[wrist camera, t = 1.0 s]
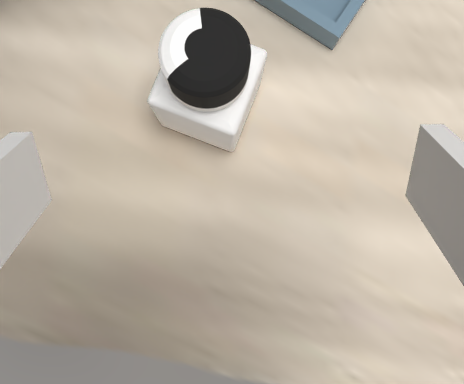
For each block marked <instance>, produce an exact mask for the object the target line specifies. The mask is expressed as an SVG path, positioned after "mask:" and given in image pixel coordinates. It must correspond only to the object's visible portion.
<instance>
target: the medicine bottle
mask: <svg viewBox="0 0 464 384" xmlns="http://www.w3.org/2000/svg"><path fill="white" fill-rule="evenodd" d="M158 57H159V63H160V66H161V68H160V70H159V73H158V75H157V78H156V80H155V82H154V85H153V87H152V90H151V92H150V94H149V97H148V101H147V102H148V104H149V105H150V107H151V109H152V110H153V112H154V114H155V115H156V117H157V118H158V120H159V122H160V123H161V125H162V126H164V127H167V128H169V129H172V130H175V131H177V132H180V133H182V134H185V135H188V136H190V137H193V138H195V139H198V140H201V141H203V142H206V143H208V144H211V145H214V146H216V147H219V148H221V149H224V150H227V151H229V152H232V151H234V150H235V147H236V145H237V142H238V140H239V137H240V135H241V132H242V130H243V127H244V124H245V122H246V119H247V117H248V114H249V112H250V109H251V107H252V104H253V102H254V99H255V96H256V94H257V91H258V89H259V86H260V83H261V79H262V75H263V70H264V66H265V62H266V58H267V52H266V50H264V49H262V48H259V47H257V46H254V45H251V44H250V41H249V38H248V35H247V33H246V31H245V30H244V28H243V27H242V25H241V24H240V23H239V22H238V21H237V20H236V19H235V18H233V17H232V16H231V15H229V14H227V13H225V12H223V11H220V10H217V9H213V8H197V9H192V10H189V11H186V12H184V13H182V14H180V15H179V16H177V17H176V18H175V19H173V20H172V21H171V22H170V23H169V25H168V26H167V27H166V29H165V30H164V32H163V34H162V36H161V39H160V42H159V48H158Z"/></svg>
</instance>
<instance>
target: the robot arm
mask: <svg viewBox="0 0 464 384" xmlns="http://www.w3.org/2000/svg"><path fill="white" fill-rule="evenodd" d="M406 197H407V199H408V200H409V202H410V203H411V205H412V207H413V208H414V210H415V211H416V213H417V214H418V216H419V217H420V219H421V221H422V222H423V224H424V225H425V227H426V228H427V230H428V231H429V233H430V234H431V236H432V238H433V239H434V241H435V242H436V244H437V245H438V247H439V248H440V250H441V252H442V253H443V255H444V256H445V258H446V259H447V261H448V262H449V264H450V266H451V267H452V269H453V270H454V272H455V273H456V275H457V276H458V278H459V280H460V281H461V283H462V284H463V286H464V142H463V141H462V140H461V139H460V138H459V137H458V136H457V135H455V134H454V133H453V132H452V131H451V130H450V129H449V128H448V127H447V126H445V125H444V124H420V128H419V133H418V138H417V143H416V148H415V152H414V157H413V162H412V167H411V172H410V176H409V181H408V186H407V191H406ZM51 201H52V199H51V195H50V192H49V188H48V185H47V181H46V178H45V175H44V171H43V168H42V164H41V161H40V157H39V154H38V150H37V147H36V143H35V140H34V136H33V133H32V132H10V133H9V134H7V135H6V136H5V137H4V138H2V139H1V140H0V269H1V268H2V266H3V265H4V264H5V262H6V261H7V260H8V258H9V257H10V256H11V254H12V253H13V252H14V250H15V249H16V247H17V246H18V245H19V243H20V242H21V241H22V239H23V238H24V237H25V235H26V234H27V233H28V231H29V230H30V229H31V227H32V226H33V225H34V223H35V222H36V221H37V219H38V218H39V217H40V215H41V214H42V213H43V211H44V210H45V209H46V207H47V206H48V205H49V203H50V202H51Z"/></svg>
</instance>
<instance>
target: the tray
mask: <svg viewBox="0 0 464 384" xmlns="http://www.w3.org/2000/svg"><path fill="white" fill-rule="evenodd" d="M255 1H257V2H258V3H260V4H261V5H263V6H264V7H266V8H267V9H269V10H271V11H272V12H274V13H275V14H277V15H278V16H280V17H281V18H283V19H285V20H286V21H288V22H289V23H291V24H292V25H294V26H295V27H297V28H299V29H300V30H302V31H303V32H305V33H306V34H308V35H309V36H311V37H313V38H314V39H316V40H317V41H319V42H320V43H322V44H323V45H325V46H327V47H328V48H330V49H331V50H333V48H334V47H335V45H336V44H337V42H338V41H339V39H340V38H341V36H342V35H343V33H344V32H345V30H346V29H347V27H348V26H349V24H350V23H351V21H352V20H353V18H354V17H355V15H356V14H357V12H358V11H359V9H360V8H361V6H362V5H363V3H364V2H365V0H255Z"/></svg>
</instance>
